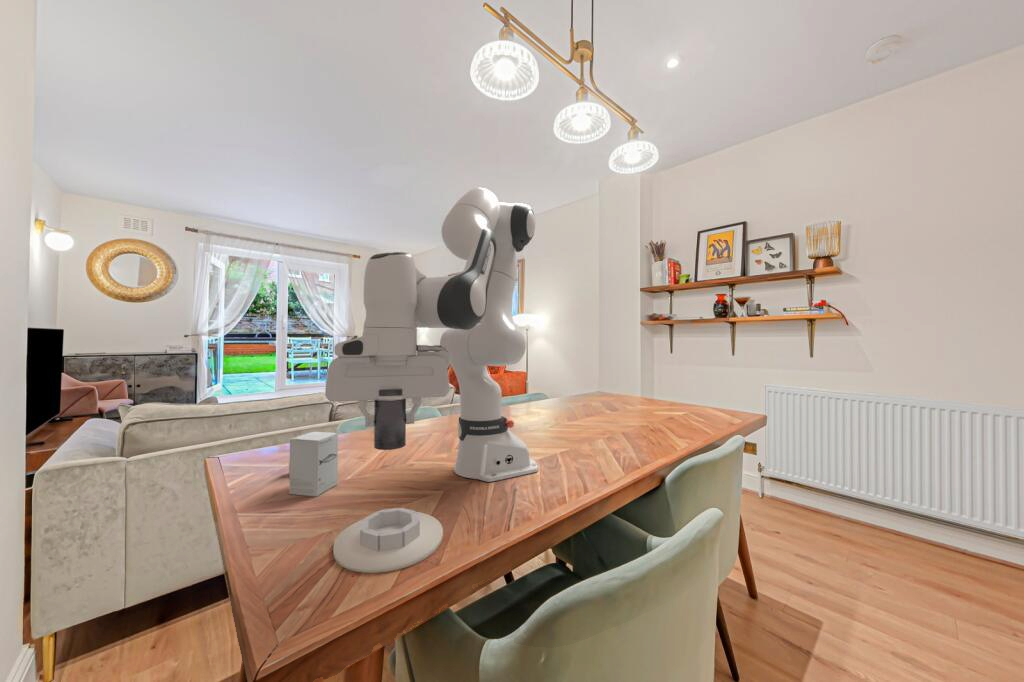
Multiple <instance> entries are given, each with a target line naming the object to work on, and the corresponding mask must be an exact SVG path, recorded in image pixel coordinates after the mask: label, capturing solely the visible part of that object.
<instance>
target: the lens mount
mask: <svg viewBox="0 0 1024 682" xmlns="http://www.w3.org/2000/svg"><path fill="white" fill-rule="evenodd" d="M443 537H444V529H443V525H442V523H441V522H440V521H439V520H438V519H437V518H435V517H434V516H432V515H430V514H426V513H424V512H419V511H417V510H413V509H410V508H409V509H408V508H405V507H401V508H400V507H393V508H387V509H381V510H377V511H375V512H373V513H371V514H369V515H368V516H366V517H364V518H362V519H360V520H358V521H355V522H354V523H352V524H350V525H349V526H347V527H346V528H344V529H343V530H342V531H341V532H340V533H339V534H338V535H337V536H336V538H335V539H334V543H333V548H332V549H333V552H332V553H333V558H334V560H335V562H336V563H337V564H338V565H339V566H340V567H342V568H344V569H346V570H348V571H352V572H357V573H363V574H380V573H387V572H394V571H398V570H402V569H405V568H408V567H411V566H413V565H416V564H418V563H420V562H423V560H426V559H427V558H428V557H430V556H431V555H433V553H435V552H436V551H437V550H438V548H439V547H440V545H442V542H443Z"/></svg>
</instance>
